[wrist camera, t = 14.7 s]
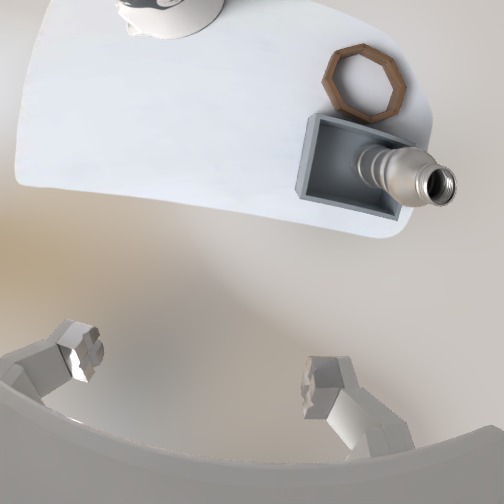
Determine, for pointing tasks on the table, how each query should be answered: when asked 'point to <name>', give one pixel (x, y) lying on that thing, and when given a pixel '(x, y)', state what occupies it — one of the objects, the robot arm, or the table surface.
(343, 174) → the bin
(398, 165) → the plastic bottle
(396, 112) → the collar
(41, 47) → the table surface
